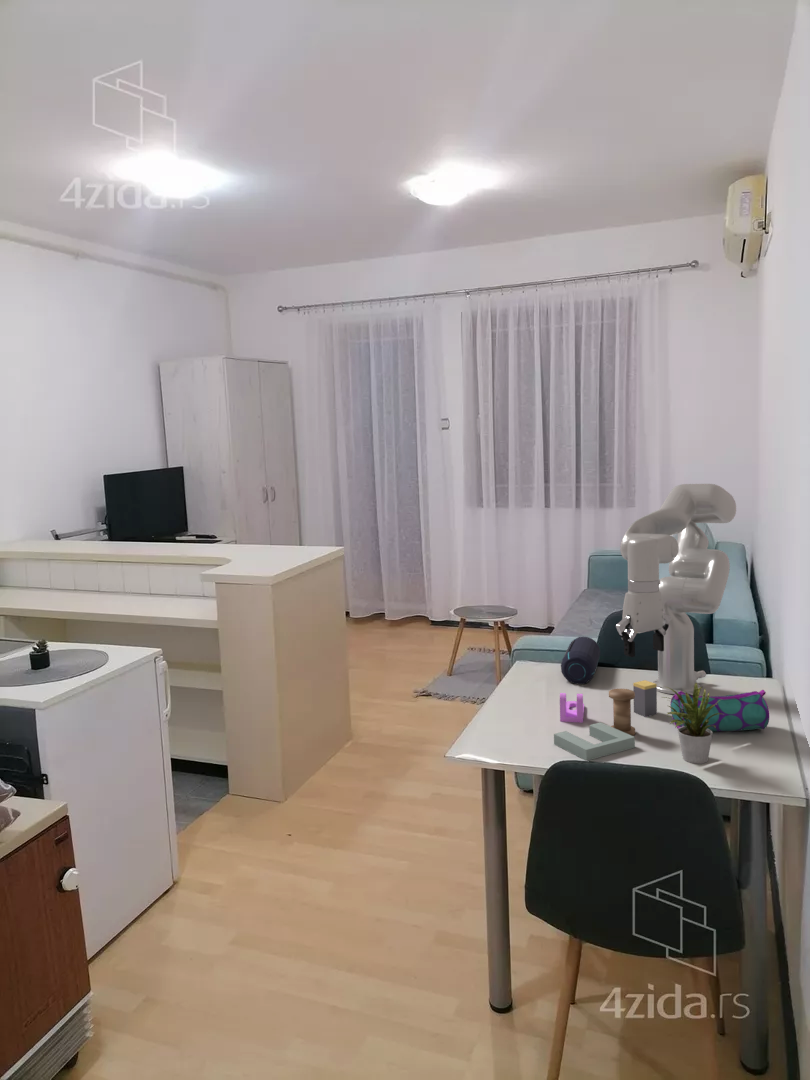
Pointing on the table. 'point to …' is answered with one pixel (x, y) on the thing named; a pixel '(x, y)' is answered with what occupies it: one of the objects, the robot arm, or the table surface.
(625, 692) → the bobbin
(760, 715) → the pencil case
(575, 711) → the bracket
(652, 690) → the yellow and grey block
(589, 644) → the portable speaker
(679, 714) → the house plant
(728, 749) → the table surface
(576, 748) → the notched board
